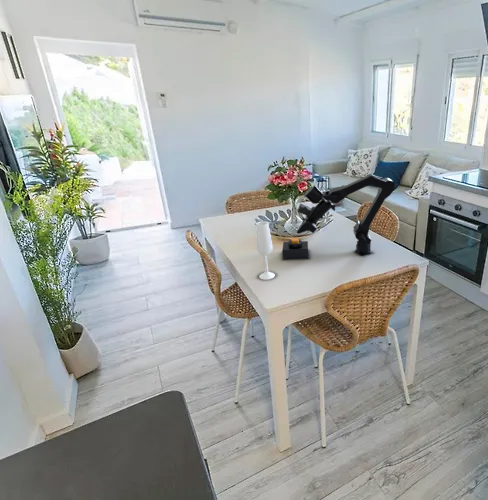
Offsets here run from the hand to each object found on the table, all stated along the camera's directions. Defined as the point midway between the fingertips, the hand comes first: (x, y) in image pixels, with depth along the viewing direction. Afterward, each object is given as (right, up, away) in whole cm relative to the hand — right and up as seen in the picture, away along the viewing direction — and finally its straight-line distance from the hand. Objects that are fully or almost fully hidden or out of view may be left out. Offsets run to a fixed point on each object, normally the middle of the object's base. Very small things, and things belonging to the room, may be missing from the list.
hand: (297, 232), depth 166 cm
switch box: (-1, -11, +5) cm, 12 cm away
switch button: (-1, -5, +2) cm, 5 cm away
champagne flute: (-11, -19, -16) cm, 27 cm away
